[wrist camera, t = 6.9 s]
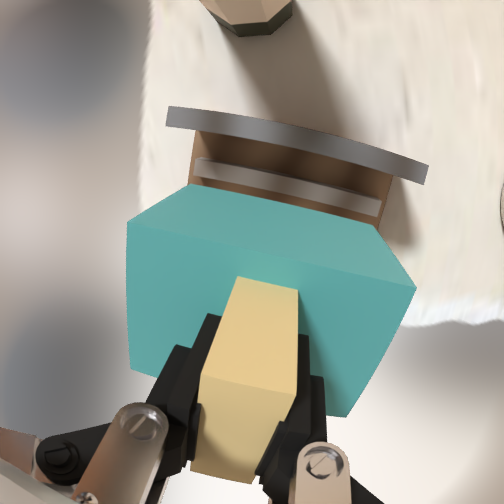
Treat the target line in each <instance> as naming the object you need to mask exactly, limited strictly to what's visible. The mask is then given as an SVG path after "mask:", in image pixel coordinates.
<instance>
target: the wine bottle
mask: <svg viewBox="0 0 504 504" xmlns="http://www.w3.org/2000/svg"><path fill="white" fill-rule="evenodd" d="M199 1H200V2H201V3H202V4H203V5H204V6H205V8H206V9H207V10H208V11H209V12H210V14H211V15H212V16H213V17H214V18H215V20H216V21H217V22H219V23H220V24H222V25H223V26H225V27H226V28H227V29H229V30H230V31H232V32H233V33H234V34H236V35H237V36H239V37H244V36H257V35H271V34H272V33H273V32H274V31H275V30H277V29H278V28H279V27H280V26H281V25H282V24H283V23H284V22H285V21H286V20H288V19H289V18H290V17H291V16H292V2H291V0H199Z"/></svg>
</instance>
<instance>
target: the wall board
mask: <svg viewBox="0 0 504 504" xmlns="http://www.w3.org/2000/svg"><path fill="white" fill-rule="evenodd" d="M166 126H168V127H176V128H184V129H192V130H196V131H195V137H194V144H193V150H192V157H191V163H190V170H189V177H188V185H189V184H195V185H200V186H206V187H211V188H216V189H221V190H226V191H231V192H235V193H240V194H245V195H250V196H254V197H259V198H264V199H268V200H273V201H277V202H281V203H286V204H290V205H294V206H299V207H303V208H307V209H311V210H315V211H320V212H324V213H328V214H332V215H336V216H340V217H343V218H347V219H351V220H355V221H359V222H363V223H366V224H370V225H373V226H374V228H375V229H376V230H377V228H378V225H379V222H380V219H381V216H382V212H383V209H384V206H385V202H386V199H387V195H388V192H389V188H390V185H391V181H392V177H393V175H395V176H398V177H401V178H404V179H407V180H410V181H413V182H416V183H419V184H421V185H424V182H425V178H426V175H427V171H428V167H429V165H426V164H424V163H421V162H418V161H415V160H413V159H410V158H407V157H404V156H401V155H398V154H395V153H392V152H389V151H386V150H383V149H380V148H377V147H373V146H370V145H367V144H363V143H360V142H357V141H353V140H350V139H346V138H342V137H339V136H335V135H331V134H327V133H323V132H319V131H315V130H311V129H307V128H303V127H298V126H294V125H289V124H284V123H280V122H275V121H270V120H264V119H259V118H254V117H248V116H242V115H236V114H230V113H223V112H216V111H209V110H201V109H193V108H184V107H174V106H169V107H168V113H167V120H166Z"/></svg>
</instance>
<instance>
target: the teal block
mask: <svg viewBox="0 0 504 504" xmlns="http://www.w3.org/2000/svg"><path fill="white" fill-rule="evenodd" d="M416 289H417V287H416V286H415V284H414V283H413V281H412V280H411V278H410V277H409V275H408V274H407V272H406V271H405V269H404V268H403V267H402V265H401V264H400V262H399V261H398V259H397V258H396V256H395V255H394V254H393V252H392V251H391V249H390V248H389V247H388V245H387V244H386V243H385V241H384V240H383V238H382V237H381V236H380V234H379V233H378V232H377V230H376V229H375V228H374V226H373V225H370V224H366V223H363V222H359V221H355V220H351V219H347V218H343V217H340V216H336V215H332V214H328V213H324V212H320V211H315V210H311V209H307V208H303V207H299V206H294V205H290V204H286V203H281V202H277V201H273V200H268V199H264V198H259V197H254V196H250V195H245V194H240V193H235V192H231V191H226V190H221V189H216V188H211V187H206V186H200V185H195V184H189V185H187V186H186V187H184V188H182V189H180V190H179V191H177V192H175V193H174V194H172V195H170V196H169V197H167V198H165V199H164V200H162V201H160V202H159V203H157V204H155V205H154V206H152V207H150V208H149V209H147V210H145V211H144V212H142V213H141V214H139V215H137V216H136V217H134V218H133V219H131V220H130V221H128V222H127V247H126V295H127V323H128V341H129V354H130V366H131V369H133V370H136V371H139V372H141V373H144V374H147V375H150V376H153V377H156V378H158V376H159V375H160V373H161V371H162V369H163V367H164V365H165V363H166V361H167V359H168V357H169V355H170V353H171V351H172V349H173V348H174V346H175V345H176V344H178V345H181V346H185V347H188V348H192V346H193V344H194V341H195V339H196V337H197V335H198V333H199V330H200V328H201V326H202V324H203V321H204V319H205V317H206V315H207V313H211V314H215V315H219V316H222V319H221V321H220V324H219V327H218V329H217V332H216V335H215V337H214V340H213V343H212V345H211V348H210V351H209V354H208V356H207V359H206V362H205V364H204V367H203V370H202V372H201V377H200V385H199V393H198V402H197V403H201V412H200V420H199V427H198V436H197V444H196V452H195V459H194V462H193V461H191V466H190V471H193V472H197V473H201V474H205V475H209V476H213V477H218V478H222V479H226V480H231V481H236V482H242V483H247V484H252V482H253V480H254V478H255V476H256V475H254V472H255V470H256V468H257V466H258V464H259V462H260V460H261V458H262V456H263V454H264V452H265V450H266V448H267V446H268V444H269V442H270V439H271V437H272V435H273V433H274V431H275V429H276V427H277V425H278V422H279V421H284V420H285V418H286V416H287V414H288V412H289V410H290V408H291V405H292V403H293V401H294V399H295V397H296V391H297V352H298V333H299V334H304V335H308V336H309V348H310V375H315V376H321V377H323V378H324V387H325V404H326V415H328V416H336V417H347V415H348V414H349V412H350V411H351V409H352V408H353V406H354V404H355V403H356V401H357V400H358V398H359V397H360V395H361V393H362V392H363V390H364V388H365V387H366V385H367V384H368V382H369V380H370V379H371V377H372V375H373V373H374V372H375V370H376V368H377V366H378V365H379V363H380V361H381V359H382V357H383V356H384V354H385V352H386V350H387V348H388V346H389V345H390V342H391V341H392V339H393V337H394V335H395V333H396V331H397V329H398V327H399V325H400V323H401V321H402V319H403V317H404V315H405V313H406V311H407V309H408V306H409V304H410V302H411V300H412V298H413V296H414V293H415V291H416Z"/></svg>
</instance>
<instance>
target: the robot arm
mask: <svg viewBox="0 0 504 504" xmlns="http://www.w3.org/2000/svg"><path fill="white" fill-rule="evenodd" d="M501 215H502V221H503V225H504V185H503V190H502V197H501ZM221 319H222V316H219V315H215V314H211V313H207V315H206V317H205V319H204V321H203V324H202V326H201V328H200V330H199V333H198V335H197V337H196V339H195V341H194V344H193V346H192V348H188V347H185V346H181V345H178V344H176V345H175V346H174V348H173V349H172V351H171V353H170V355H169V357H168V359H167V361H166V363H165V365H164V367H163V369H162V371H161V373H160V375H159V376H158V378H157V381H156V382H155V384H154V386H153V388H152V390H151V392H150V394H149V396H148V398H147V400H146V402H145V403H142V402H139V403H138V402H137V403H132V404H128V405H126V406H124V407H122V408H121V409H120V410H119V411H118V413H117V414H116V415H115V417H114V419H113V421H112V422H111V423H108V424H103V425H99V426H96V427H91V428H87V429H83V430H79V431H74V432H70V433H65V434H60V435H55V436H51V437H48V438H46V439H39V438H37V437H36V436H35V435H31V434H26V433H22V432H18V431H14V430H10V429H6V428H2V427H0V504H160V503H161V500H162V497H163V495H164V492H165V489H166V486H167V483H168V481H169V477H170V476H172V475H175V474H178V473H180V472H181V469H182V467H184V468H185V466H186V463H187V460H190V461H193V462H194V459H195V452H196V444H197V436H198V427H199V420H200V412H201V403H197V402H198V393H199V385H200V377H201V372H202V370H203V367H204V364H205V362H206V359H207V356H208V354H209V351H210V348H211V345H212V343H213V340H214V337H215V335H216V332H217V329H218V327H219V324H220V321H221ZM254 475H258V476H260V479H259V484H262V485H263V491H264V492H265V493H266V494H267V495H268V496H269V501H268V504H384V503H383V502H382V501H380V500H379V499H378V498H377V497H375V496H374V495H373V494H372V493H371V492H369V491H368V490H367V489H366V488H364V487H363V486H362V485H361V484H360V483H358V482H357V481H356V480H355V479H354V478H353V477H351V476H350V470H349V462H348V458H347V456H346V455H345V453H344V452H343V451H342V450H341V449H340V448H339V447H337V446H335V445H333V444H331V443H327V427H326V404H325V387H324V378H323V377H321V376H315V375H310V348H309V336H308V335H304V334H299V333H298V352H297V391H296V397H295V399H294V401H293V403H292V405H291V408H290V410H289V412H288V414H287V416H286V418H285V420H284V421H279V422H278V425H277V427H276V429H275V431H274V433H273V435H272V437H271V439H270V442H269V444H268V446H267V448H266V450H265V452H264V454H263V456H262V458H261V460H260V462H259V464H258V466H257V468H256V470H255V472H254Z"/></svg>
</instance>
